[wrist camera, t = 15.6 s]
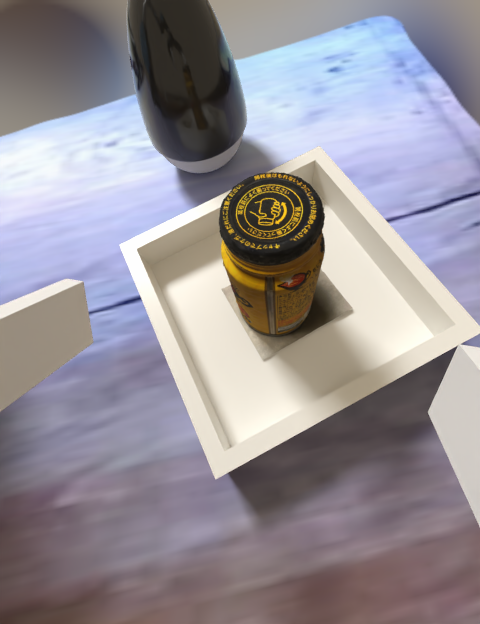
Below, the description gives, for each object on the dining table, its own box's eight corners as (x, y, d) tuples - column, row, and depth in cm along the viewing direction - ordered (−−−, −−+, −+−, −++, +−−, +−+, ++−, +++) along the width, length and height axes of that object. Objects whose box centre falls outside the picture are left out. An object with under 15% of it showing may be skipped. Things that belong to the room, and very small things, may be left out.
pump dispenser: (267, 133, 34) (258, -74, 20) (220, 201, 31) (173, 18, 17) (193, 111, 37) (140, -84, 23) (145, 172, 34) (51, -6, 20)
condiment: (221, 290, 27) (180, 193, 15) (303, 245, 27) (319, 121, 16) (262, 360, 24) (247, 305, 13) (351, 309, 25) (412, 214, 13)
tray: (139, 267, 30) (119, 244, 26) (314, 179, 31) (319, 145, 27) (226, 470, 22) (215, 479, 19) (451, 345, 24) (483, 330, 20)
